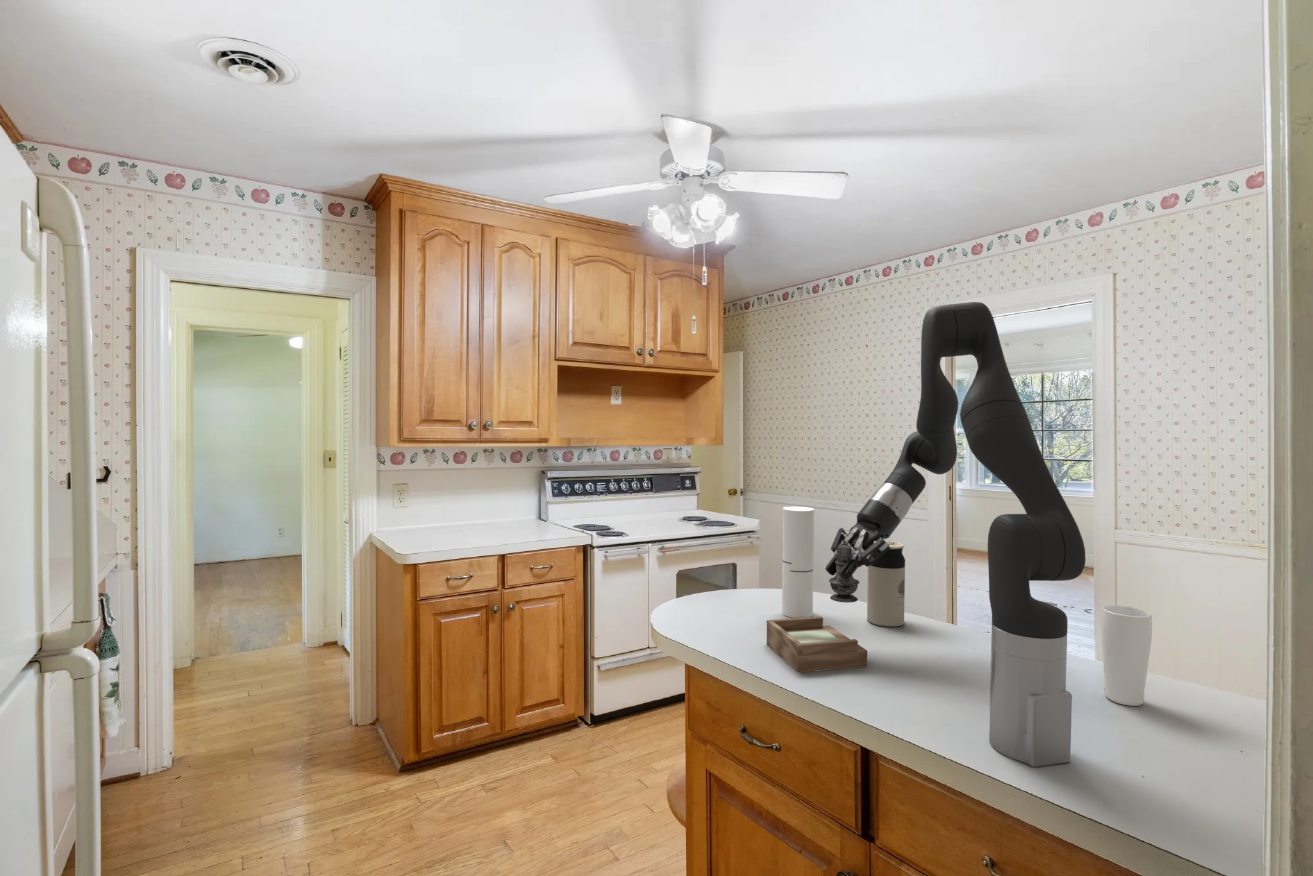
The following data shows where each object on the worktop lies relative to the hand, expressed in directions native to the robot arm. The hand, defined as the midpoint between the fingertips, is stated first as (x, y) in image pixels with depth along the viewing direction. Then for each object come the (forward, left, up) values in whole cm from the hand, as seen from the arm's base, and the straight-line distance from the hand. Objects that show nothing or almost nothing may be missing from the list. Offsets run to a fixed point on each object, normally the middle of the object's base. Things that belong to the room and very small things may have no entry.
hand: (835, 574), depth 129 cm
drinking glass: (-30, -36, -16) cm, 50 cm away
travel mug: (+15, -20, -16) cm, 30 cm away
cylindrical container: (+25, -3, -16) cm, 29 cm away
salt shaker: (0, -2, -5) cm, 6 cm away
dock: (-1, +5, -15) cm, 16 cm away
